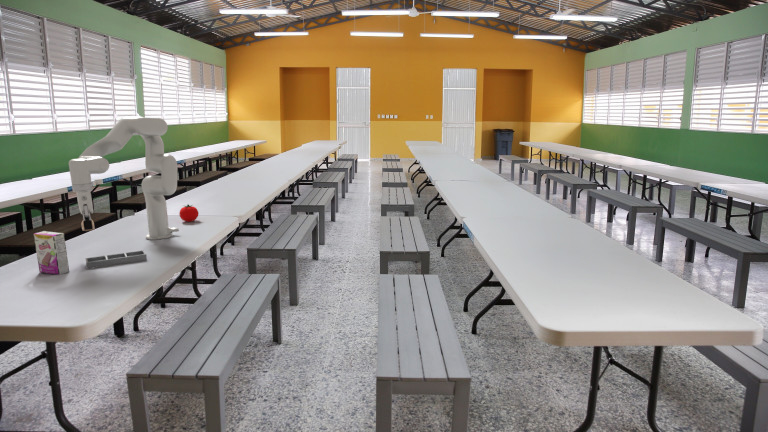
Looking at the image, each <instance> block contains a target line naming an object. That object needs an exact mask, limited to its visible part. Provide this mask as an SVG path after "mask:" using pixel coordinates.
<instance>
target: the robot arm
mask: <svg viewBox="0 0 768 432" xmlns="http://www.w3.org/2000/svg"><path fill="white" fill-rule="evenodd" d="M167 131H168V123H167V122H166V120H165V119H163V118H160V117H145V116H125V117H122V118H120V119H119V121H117V122H116V124H115V125H114V126H113V127H112V128H111V129H110V131H109V132H108V133H106V135H105V136H104V137H102V138H101V139H99V140H98V141H97V140H96V142H94V143H92V144H91V145H89V146H88V147H87V148H85V150H83V151H82V153H81V154H80V155H79V156H78V158H72V159H70V160H69V161H68V169H69V175H70V181H71V188H72V189H71V190H72V192H73V193H76V198H77V204H78V209H79V212H80V215H82V221H83V220H84V221H83V223H84V230H90V231H92V230H91V229H93V226H92V220H93V219H92V217H91V214H94V207H93V200H92V194H91V192H92V191H93V183H92V176H91V175H92V174H93V175H101V174H105V173H106V172H107V171H108V170H109V168H110V162H109V161H108V159H106V158H105V156H107V155H110V154H114V153H117V152H118V151H121V150H122V149H123V148H124V147H125V145H127V143H128V142H129V141H130V140H131V139H132V137H133V136H140V137H141V138H142V140H143V141H144V144H145V145H144V146H145V161H144V162H145V169H146V171H147V172H149V173H153V175H147V176H145V177H144V178H143V179H142V181H141V190H142V193H143V195H144V196H143V197H144V200H145V208H146V218H147V228H148V233H147V234H146V235H145V238H146V239H147V240H163V239H164V240H165V239H169V238H172V237H173V236H174V235H173V233H174V232H176V233H177V232H180V229H179V227H170V226H169V217H168V208H167V207H168V206H167V201H166V198H165V196H171V195H173V194H175V192H176V190H177V188H178V162H177V159H176V158H175V156H174V155H172V154H168V153H165V145H164V141H163V139H162V137H161V136H164V135H165V134H166V133H167ZM154 174H161V175H154ZM91 219H92V220H91Z"/></svg>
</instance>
